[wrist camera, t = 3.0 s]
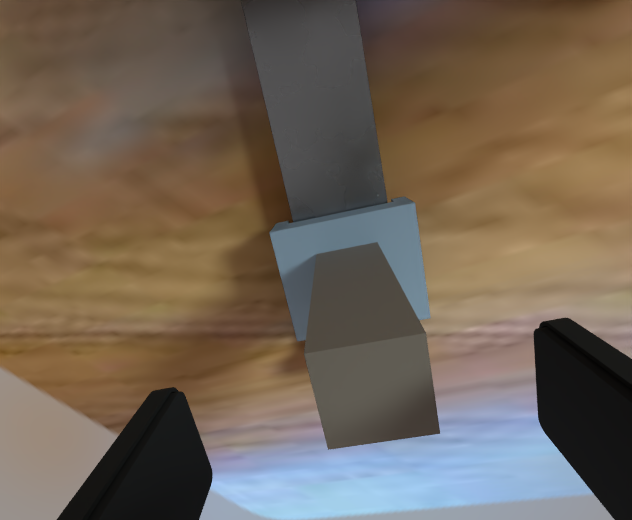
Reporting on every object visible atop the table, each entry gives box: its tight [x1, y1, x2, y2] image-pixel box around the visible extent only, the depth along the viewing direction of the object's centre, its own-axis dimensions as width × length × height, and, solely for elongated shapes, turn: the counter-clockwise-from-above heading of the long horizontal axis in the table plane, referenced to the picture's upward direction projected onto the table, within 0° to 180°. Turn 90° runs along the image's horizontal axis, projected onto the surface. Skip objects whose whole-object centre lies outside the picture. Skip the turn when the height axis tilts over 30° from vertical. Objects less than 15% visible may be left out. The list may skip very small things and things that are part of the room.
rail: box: [241, 0, 387, 222], centre depth 18 cm, size 21×5×3 cm, turn 12°
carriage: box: [270, 197, 440, 450], centre depth 15 cm, size 6×7×11 cm
